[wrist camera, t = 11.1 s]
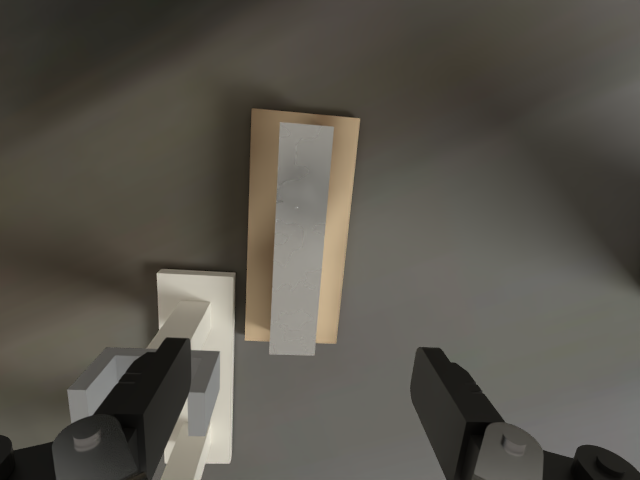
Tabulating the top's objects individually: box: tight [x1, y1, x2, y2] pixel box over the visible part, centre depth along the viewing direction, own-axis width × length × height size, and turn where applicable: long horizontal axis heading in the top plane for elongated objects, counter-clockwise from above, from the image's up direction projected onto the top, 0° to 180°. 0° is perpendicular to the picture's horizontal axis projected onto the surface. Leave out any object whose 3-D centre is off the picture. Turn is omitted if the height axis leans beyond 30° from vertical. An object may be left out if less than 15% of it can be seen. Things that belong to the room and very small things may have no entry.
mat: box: [245, 108, 360, 344], centre depth 28 cm, size 8×19×1 cm, turn 175°
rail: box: [269, 122, 334, 356], centre depth 26 cm, size 4×17×4 cm, turn 176°
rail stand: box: [67, 269, 236, 480], centre depth 26 cm, size 7×19×12 cm, turn 175°
